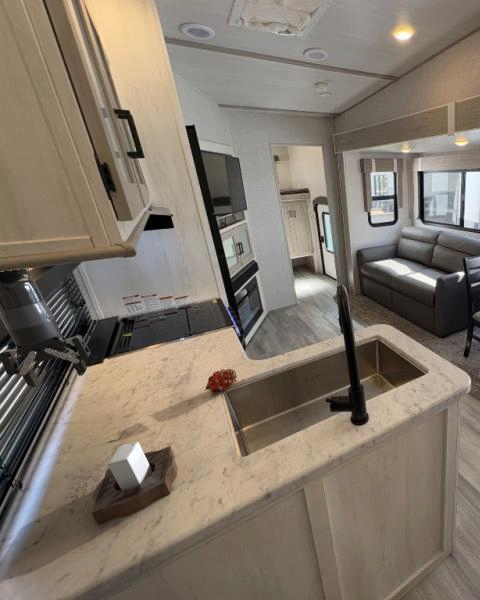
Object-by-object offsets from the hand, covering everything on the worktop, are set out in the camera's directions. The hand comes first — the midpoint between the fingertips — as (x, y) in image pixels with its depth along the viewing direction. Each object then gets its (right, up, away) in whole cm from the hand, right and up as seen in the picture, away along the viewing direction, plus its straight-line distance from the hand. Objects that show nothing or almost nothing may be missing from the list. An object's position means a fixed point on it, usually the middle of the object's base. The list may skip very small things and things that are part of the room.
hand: (59, 379), depth 78 cm
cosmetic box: (+19, -29, +2) cm, 34 cm away
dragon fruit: (+18, -15, +41) cm, 47 cm away
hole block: (+19, -29, +2) cm, 34 cm away
